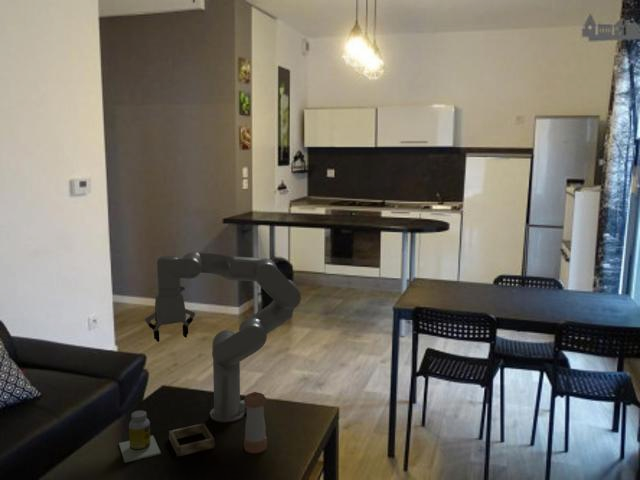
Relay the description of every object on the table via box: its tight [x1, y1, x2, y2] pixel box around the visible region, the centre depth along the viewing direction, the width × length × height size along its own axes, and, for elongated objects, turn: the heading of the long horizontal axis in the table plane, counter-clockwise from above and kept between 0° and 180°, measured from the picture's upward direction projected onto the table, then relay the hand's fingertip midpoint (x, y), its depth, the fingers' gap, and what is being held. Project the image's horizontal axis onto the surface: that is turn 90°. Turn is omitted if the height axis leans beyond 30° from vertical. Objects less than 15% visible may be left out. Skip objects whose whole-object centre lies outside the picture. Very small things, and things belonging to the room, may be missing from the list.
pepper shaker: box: [243, 391, 268, 454], centre depth 178 cm, size 7×7×19 cm
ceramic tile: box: [118, 435, 161, 463], centre depth 178 cm, size 11×12×1 cm
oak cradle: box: [168, 422, 216, 457], centre depth 182 cm, size 12×12×3 cm
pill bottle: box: [128, 410, 151, 452], centre depth 177 cm, size 6×6×12 cm
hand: (171, 338), depth 194 cm, fingers open, 9 cm apart
